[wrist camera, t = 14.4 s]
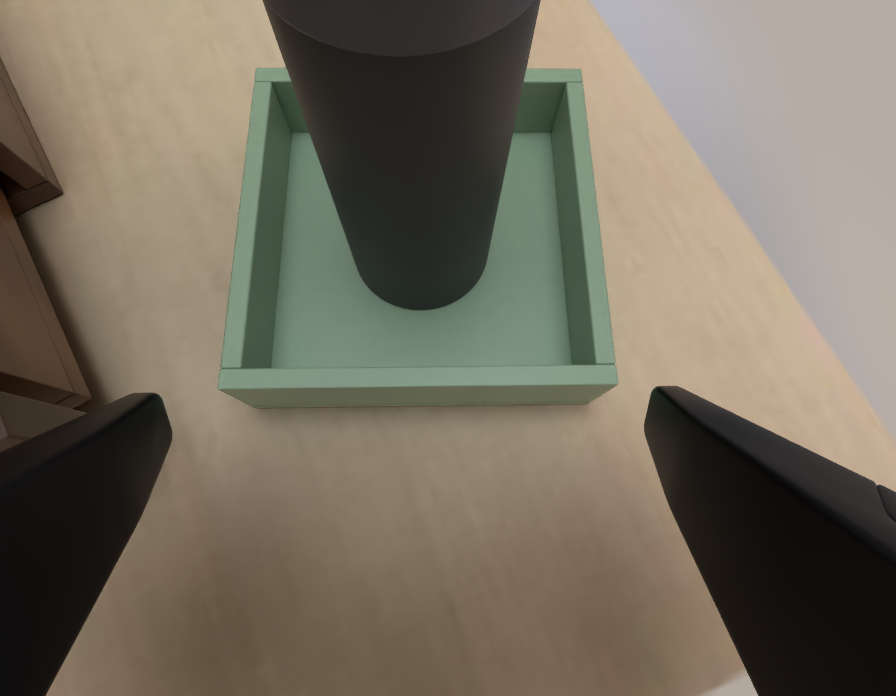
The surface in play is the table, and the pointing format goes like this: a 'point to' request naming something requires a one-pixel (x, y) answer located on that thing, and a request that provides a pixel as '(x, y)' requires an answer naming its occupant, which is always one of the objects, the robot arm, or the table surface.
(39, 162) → the cabinet
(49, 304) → the drawer
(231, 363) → the tray
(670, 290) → the table surface
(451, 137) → the canister
